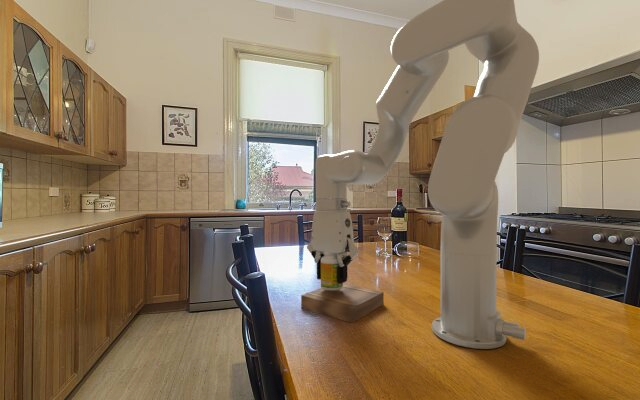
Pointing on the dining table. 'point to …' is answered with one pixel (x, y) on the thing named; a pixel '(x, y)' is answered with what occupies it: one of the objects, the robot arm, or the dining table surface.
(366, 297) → the walnut board
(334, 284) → the supplement bottle
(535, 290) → the dining table surface
